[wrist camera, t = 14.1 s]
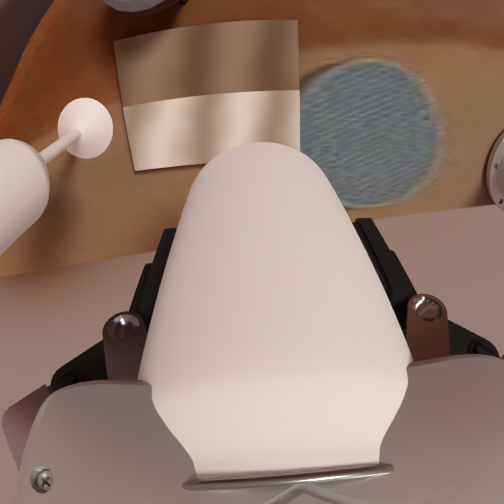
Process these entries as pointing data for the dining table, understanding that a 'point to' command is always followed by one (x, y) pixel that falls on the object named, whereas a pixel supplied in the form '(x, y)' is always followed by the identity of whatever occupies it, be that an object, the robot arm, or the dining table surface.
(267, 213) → the can
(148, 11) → the mate gourd
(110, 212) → the dining table surface
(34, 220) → the champagne flute
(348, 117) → the dining table surface
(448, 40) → the dining table surface
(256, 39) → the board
